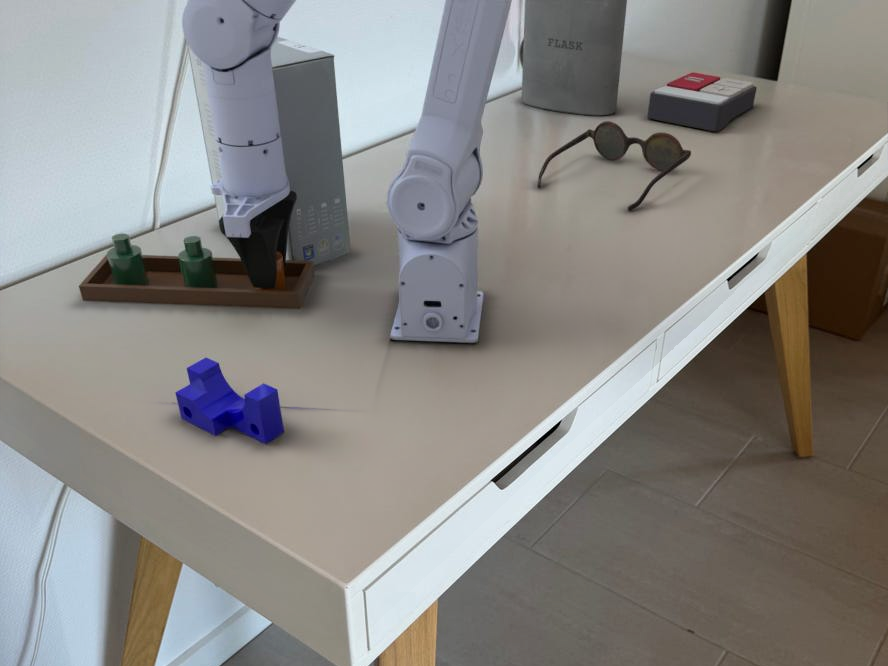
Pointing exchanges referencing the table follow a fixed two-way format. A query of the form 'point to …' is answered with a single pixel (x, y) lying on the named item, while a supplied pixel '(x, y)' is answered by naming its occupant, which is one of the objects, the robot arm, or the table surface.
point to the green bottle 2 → (197, 264)
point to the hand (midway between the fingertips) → (269, 277)
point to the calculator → (701, 101)
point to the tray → (171, 289)
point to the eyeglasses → (614, 144)
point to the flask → (573, 55)
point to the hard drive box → (299, 148)
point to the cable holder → (228, 404)
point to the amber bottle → (278, 276)
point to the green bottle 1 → (127, 262)
